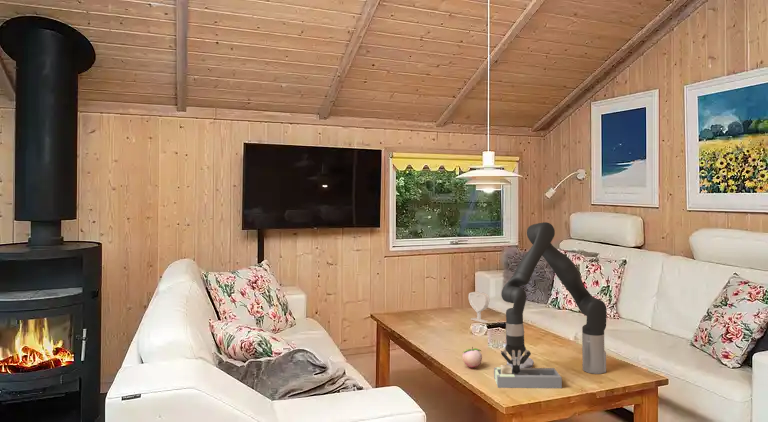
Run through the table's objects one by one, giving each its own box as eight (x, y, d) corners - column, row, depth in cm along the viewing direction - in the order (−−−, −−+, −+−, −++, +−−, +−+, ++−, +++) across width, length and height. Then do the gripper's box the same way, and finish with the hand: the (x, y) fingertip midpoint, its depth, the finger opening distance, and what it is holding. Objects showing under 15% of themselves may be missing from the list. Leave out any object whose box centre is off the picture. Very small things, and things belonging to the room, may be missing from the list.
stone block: (534, 369, 238) (515, 361, 244) (536, 359, 237) (516, 351, 243) (524, 377, 229) (504, 368, 235) (526, 367, 228) (506, 359, 234)
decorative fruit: (469, 372, 229) (469, 350, 229) (459, 367, 237) (459, 346, 236) (486, 369, 233) (486, 348, 233) (476, 364, 240) (476, 343, 240)
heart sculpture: (467, 318, 330) (467, 291, 330) (473, 317, 333) (472, 290, 333) (485, 323, 318) (484, 294, 317) (490, 321, 320) (490, 293, 320)
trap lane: (554, 378, 220) (554, 367, 220) (561, 388, 208) (561, 376, 208) (494, 377, 222) (494, 367, 222) (498, 387, 210) (497, 376, 210)
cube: (510, 374, 218) (510, 364, 217) (511, 377, 214) (511, 368, 213) (500, 374, 218) (500, 364, 218) (502, 377, 214) (502, 368, 214)
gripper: (528, 330, 218) (530, 369, 219) (497, 331, 219) (499, 370, 220) (532, 335, 211) (533, 376, 211) (500, 335, 212) (502, 376, 212)
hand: (516, 373), depth 215 cm, fingers closed
